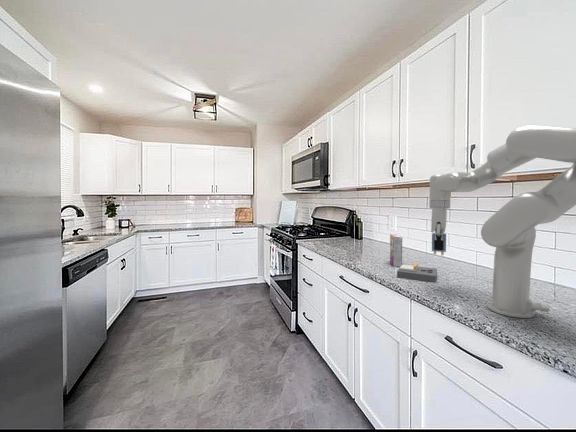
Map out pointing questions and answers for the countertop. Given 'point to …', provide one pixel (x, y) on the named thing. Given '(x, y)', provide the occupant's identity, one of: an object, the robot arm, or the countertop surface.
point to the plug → (443, 244)
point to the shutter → (409, 267)
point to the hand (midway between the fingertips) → (438, 248)
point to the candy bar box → (396, 250)
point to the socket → (419, 274)
